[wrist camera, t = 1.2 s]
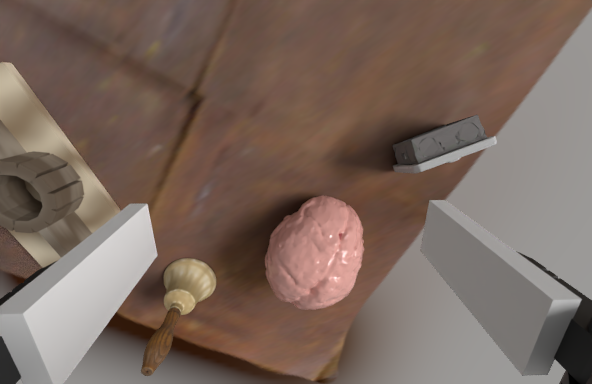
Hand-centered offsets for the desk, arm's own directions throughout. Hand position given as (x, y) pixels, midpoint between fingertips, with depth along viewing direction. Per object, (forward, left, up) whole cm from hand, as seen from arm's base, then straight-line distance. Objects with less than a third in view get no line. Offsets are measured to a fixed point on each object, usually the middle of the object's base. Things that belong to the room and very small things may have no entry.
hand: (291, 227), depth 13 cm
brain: (+15, -3, -27) cm, 31 cm away
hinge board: (-10, -34, -27) cm, 44 cm away
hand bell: (+14, -24, -27) cm, 39 cm away
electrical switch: (+8, +16, -27) cm, 32 cm away
